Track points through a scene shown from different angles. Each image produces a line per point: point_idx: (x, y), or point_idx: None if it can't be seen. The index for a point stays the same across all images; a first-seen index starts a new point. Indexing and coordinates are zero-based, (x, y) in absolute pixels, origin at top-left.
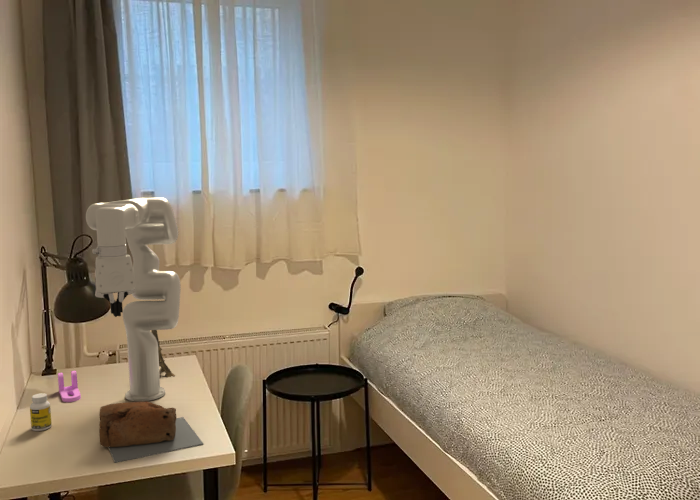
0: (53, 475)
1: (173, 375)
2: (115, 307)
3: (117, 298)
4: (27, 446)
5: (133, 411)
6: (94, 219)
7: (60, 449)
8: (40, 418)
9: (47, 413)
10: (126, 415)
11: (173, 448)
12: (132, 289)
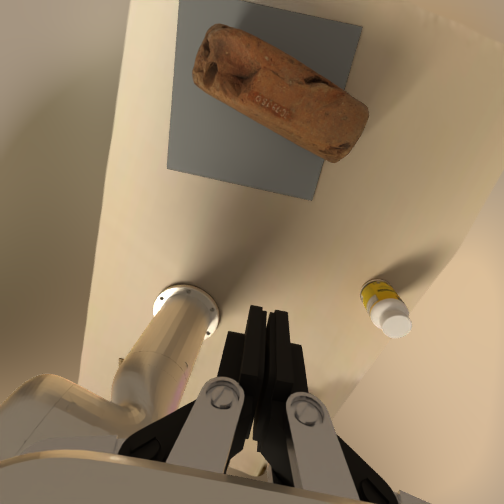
0: (474, 55)
1: (120, 360)
2: (283, 352)
3: (236, 448)
4: (431, 230)
5: (300, 66)
6: None
7: (400, 177)
8: (390, 290)
9: (379, 293)
10: (316, 74)
11: (241, 8)
12: (19, 456)
